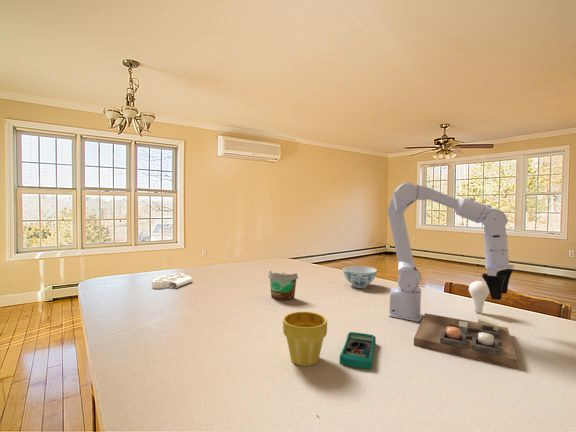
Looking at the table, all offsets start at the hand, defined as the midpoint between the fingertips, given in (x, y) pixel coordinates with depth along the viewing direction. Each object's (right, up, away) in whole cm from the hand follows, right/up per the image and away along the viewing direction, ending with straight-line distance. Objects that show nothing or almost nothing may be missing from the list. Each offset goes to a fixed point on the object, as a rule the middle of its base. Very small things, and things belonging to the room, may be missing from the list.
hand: (499, 296), depth 92 cm
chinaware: (-30, -9, +50) cm, 59 cm away
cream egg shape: (-14, -7, -15) cm, 22 cm away
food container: (-65, -9, +30) cm, 72 cm away
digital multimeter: (-45, -11, -14) cm, 48 cm away
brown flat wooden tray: (-14, -11, -6) cm, 18 cm away
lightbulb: (+4, -10, +17) cm, 20 cm away
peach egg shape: (-20, -7, -12) cm, 24 cm away
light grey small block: (-14, -9, -6) cm, 18 cm away
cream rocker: (-5, -7, -3) cm, 9 cm away
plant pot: (-58, -11, -18) cm, 62 cm away
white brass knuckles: (-115, -8, +50) cm, 125 cm away
